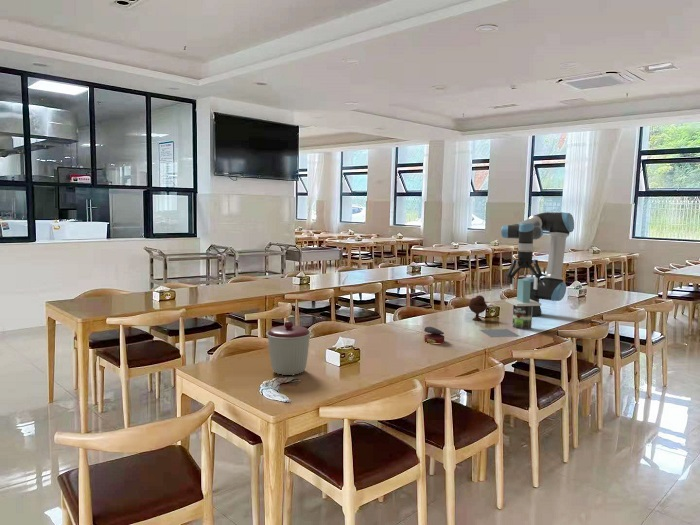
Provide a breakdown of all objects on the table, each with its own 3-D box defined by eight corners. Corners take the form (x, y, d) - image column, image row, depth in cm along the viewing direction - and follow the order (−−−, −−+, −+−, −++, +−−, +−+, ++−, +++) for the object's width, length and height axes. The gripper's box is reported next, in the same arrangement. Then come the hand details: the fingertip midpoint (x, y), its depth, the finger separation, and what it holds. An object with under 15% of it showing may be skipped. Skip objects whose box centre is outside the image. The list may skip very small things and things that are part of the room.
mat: (507, 330, 284) (507, 329, 284) (520, 337, 268) (520, 336, 268) (479, 330, 282) (479, 329, 282) (491, 338, 266) (491, 337, 266)
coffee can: (526, 331, 281) (528, 306, 280) (509, 328, 288) (510, 303, 287) (534, 328, 289) (536, 303, 287) (517, 325, 296) (518, 301, 294)
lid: (528, 300, 295) (530, 277, 293) (541, 305, 281) (542, 281, 280) (505, 301, 293) (506, 278, 291) (516, 306, 279) (517, 281, 278)
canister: (277, 363, 222) (277, 315, 219) (317, 367, 216) (317, 317, 214) (258, 376, 204) (257, 324, 202) (301, 381, 199) (301, 327, 197)
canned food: (423, 350, 260) (417, 331, 263) (440, 346, 264) (434, 327, 267) (433, 345, 250) (427, 325, 253) (451, 341, 254) (444, 321, 257)
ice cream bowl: (484, 318, 314) (485, 293, 312) (487, 322, 303) (488, 297, 301) (466, 317, 315) (467, 293, 313) (469, 321, 304) (470, 296, 302)
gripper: (543, 250, 289) (541, 287, 291) (500, 250, 286) (499, 288, 288) (550, 251, 282) (548, 290, 284) (506, 251, 278) (505, 290, 281)
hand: (523, 289), depth 286 cm, fingers open, 13 cm apart
